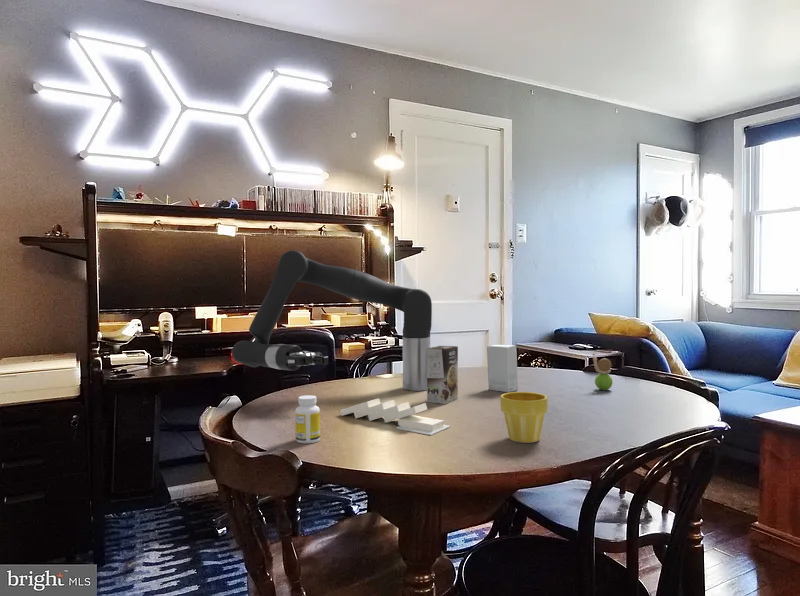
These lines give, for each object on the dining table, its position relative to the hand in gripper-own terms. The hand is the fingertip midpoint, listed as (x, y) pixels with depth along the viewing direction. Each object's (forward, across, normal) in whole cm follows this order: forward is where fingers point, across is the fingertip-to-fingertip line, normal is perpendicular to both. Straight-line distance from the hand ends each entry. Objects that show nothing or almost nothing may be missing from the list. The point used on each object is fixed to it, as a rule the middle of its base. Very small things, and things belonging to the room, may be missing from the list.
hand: (326, 360), depth 151 cm
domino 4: (+23, -1, +13) cm, 26 cm away
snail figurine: (+55, +72, +16) cm, 92 cm away
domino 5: (+27, -1, +13) cm, 30 cm away
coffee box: (+20, +28, +15) cm, 38 cm away
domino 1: (+8, -1, +13) cm, 15 cm away
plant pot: (+56, +4, +15) cm, 58 cm away
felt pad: (+33, -1, +14) cm, 36 cm away
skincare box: (+28, +53, +15) cm, 62 cm away
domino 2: (+13, -1, +13) cm, 19 cm away
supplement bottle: (+18, -25, +14) cm, 33 cm away
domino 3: (+18, -1, +13) cm, 22 cm away
